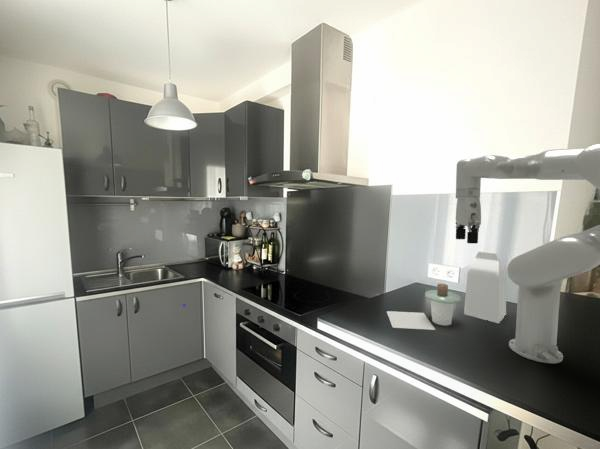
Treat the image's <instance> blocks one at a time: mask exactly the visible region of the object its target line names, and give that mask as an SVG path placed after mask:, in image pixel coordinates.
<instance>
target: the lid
mask: <svg viewBox="0 0 600 449" xmlns="http://www.w3.org/2000/svg"><path fill="white" fill-rule="evenodd" d="M436 286H437V287H436V288H437V289H430V290H426V291H425V293H424V296H425V299H428V300H429V301H431V300H432V301H435V302H439V303H446V304H453V303H454V304H458V303H460V302H461V296H460V295H459V294H457V293H454V292H452V291H449V286H448V284H447V283H437V285H436Z"/></svg>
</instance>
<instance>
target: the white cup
mask: <svg viewBox="0 0 600 449" xmlns="http://www.w3.org/2000/svg"><path fill="white" fill-rule="evenodd" d="M454 305H455V303H453V304H446V303H439V302H435V301H432V300H430V307H431V308H430V311H431V322H432V323H434V324H436V325H438V326H439V325H440V326H447V327H448V326H451V325H452V321H453V317H454V316H453V315H454Z"/></svg>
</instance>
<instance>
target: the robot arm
mask: <svg viewBox="0 0 600 449" xmlns="http://www.w3.org/2000/svg"><path fill="white" fill-rule="evenodd" d="M455 177H456V178H455V199H457V201H456V207H455V209H456V210H455V240H465V239H466V238H467V239H466V243H467V244H478V243H479V232H480V230H479V229H480V227H481V225H482V209H481V208H482V207H481V206H482V205H481V183H482V182H481V181H482V179H495V180H496V179H497V180H512V179H514V180H516V179H517V180H526V179H527V180H531V179H532V180H535V179H536V180H538V181H545V180H546V181H547V180H548V181H552V180H553V181H555V180H556V181H562V180H563V181H565V180H567V181H568V180H569V181H571V180H575V181H576V180H577V181H578V180H579V181H583V180H585V181H588V182H589V183H590V184H591V185H592V186H594V187H595V188H596V189H598V190H599V191H600V143H595V144H593V145H590V146H588V147H587V146H585V147H575V148H558V149H557V148H556V149H546V150H544V151H542V152H540V153H537V154H530V155H521V156H520V155H517V156H502V155H494V154H489V155H487V154H486V155H483V156H480V157H479V156H478V157H477V158H465V159H461V160H458V162H457V163H456V176H455ZM466 227H467V230H468V231H467V232H466ZM466 233H467V235H466ZM598 266H600V224H597V225H595V226H593V227H591V228H587V229H585V230H583V231H580V232H577V233H574V234H573V233H572V234H569V235H564V236H561V237H558V238H555V239H553V240H551V241H548V242H547V243H544V244H542V245H540V246H537V247H536V248H532V249H531V250H529V251H526V252H524V253H522V254H519V255H517V256H515V257H514V258H512V259H511V260H510V262H509V263H508V265H507V268H506V269H507V275H508V278H509V279H510V280H511V282H512V283H514V284H515V285H517V286H518V290H517V299H516V300H517V301H516V302H517V303H516V304H517V305H516V318H515V319H516V322H515V338H512V339H510V340H509V341H508V347H509V348H510V349H511V350H512V351H513V352H514V353H515V354H517V355H519V356H521V357H522V358H526V359H528V360H530V361H531V360H532V361H535V362H539V363H544V364H560V363H561V362H563V360H564V355H563V353H562V352H561V351H559V347H558V346H557V343H558V341H557V339H558V327H559V326H558V325H559V310H560V301H561V300H560V299H561V290H562V285H563V280H566V279H569V278H572V277H574V276H577V275H580V274H583V273H586V272H588V271H591V270H593V269H594V268H596V267H598Z"/></svg>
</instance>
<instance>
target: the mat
mask: <svg viewBox="0 0 600 449" xmlns="http://www.w3.org/2000/svg"><path fill="white" fill-rule="evenodd" d="M386 315H387V316H388V319H389V322H390V324H391V327H392V328H395V329H410V330H411V329H413V330H426V331H427V330H430V331H436V328H435V327H434V325H433V323H432V322H431V321H430V320H429V318H428V317H427V316H426V314H425V312H414V311H413V312H412V311H410V312H409V311H395V310H394V311H393V310H390V311H386Z"/></svg>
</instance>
